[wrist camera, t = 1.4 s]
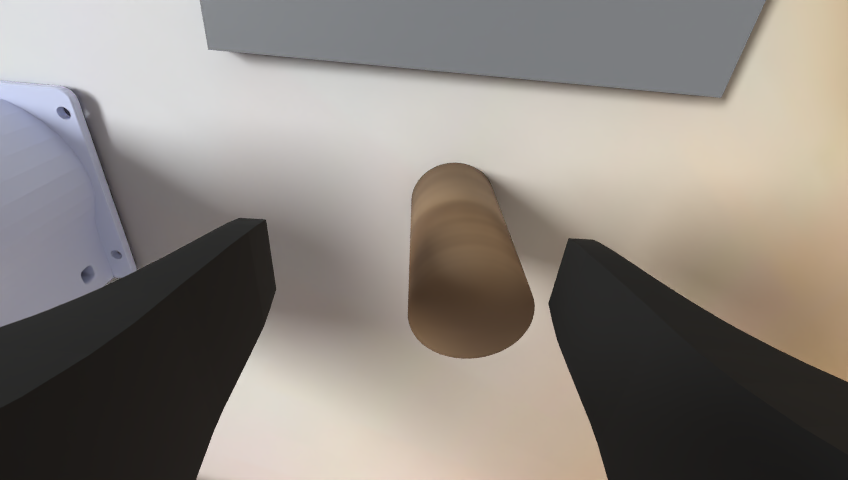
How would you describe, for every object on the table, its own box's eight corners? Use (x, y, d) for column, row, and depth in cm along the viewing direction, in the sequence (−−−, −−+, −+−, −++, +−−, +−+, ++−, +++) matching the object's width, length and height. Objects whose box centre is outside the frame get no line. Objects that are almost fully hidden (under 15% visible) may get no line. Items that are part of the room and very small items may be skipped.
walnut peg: (486, 239, 21) (519, 361, 14) (408, 234, 21) (404, 355, 14) (501, 166, 19) (548, 267, 12) (414, 159, 18) (412, 258, 12)
